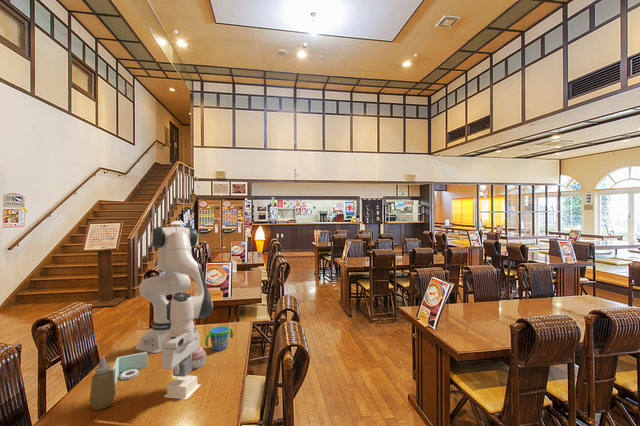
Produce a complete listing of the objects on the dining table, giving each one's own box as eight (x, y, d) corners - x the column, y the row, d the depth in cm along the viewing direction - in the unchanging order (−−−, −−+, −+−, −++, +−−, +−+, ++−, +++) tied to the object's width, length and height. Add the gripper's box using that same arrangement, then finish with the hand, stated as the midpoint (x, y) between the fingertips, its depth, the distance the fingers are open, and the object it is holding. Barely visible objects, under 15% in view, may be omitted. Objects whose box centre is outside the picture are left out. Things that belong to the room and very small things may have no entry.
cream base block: (167, 395, 118) (167, 385, 118) (179, 384, 126) (179, 374, 126) (185, 397, 116) (185, 386, 116) (197, 385, 124) (197, 376, 124)
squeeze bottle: (98, 399, 117) (98, 353, 117) (120, 398, 118) (120, 352, 118) (84, 413, 109) (83, 363, 109) (107, 411, 109) (107, 362, 110)
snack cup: (228, 341, 171) (228, 323, 171) (237, 346, 163) (237, 328, 163) (201, 349, 160) (201, 330, 160) (209, 356, 152) (209, 336, 152)
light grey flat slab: (148, 400, 116) (148, 398, 116) (171, 380, 130) (171, 379, 130) (190, 404, 113) (190, 402, 113) (210, 384, 127) (210, 382, 127)
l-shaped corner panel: (112, 387, 127) (112, 369, 127) (117, 373, 137) (117, 357, 137) (145, 379, 132) (145, 362, 132) (147, 367, 143) (147, 351, 143)
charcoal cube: (173, 376, 119) (173, 363, 119) (180, 369, 124) (180, 357, 124) (184, 376, 118) (184, 364, 118) (192, 370, 123) (191, 358, 123)
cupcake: (196, 373, 136) (196, 351, 136) (181, 369, 139) (181, 347, 140) (211, 364, 144) (211, 343, 144) (197, 360, 148) (197, 340, 148)
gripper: (190, 325, 132) (190, 356, 132) (158, 345, 112) (158, 382, 112) (203, 325, 131) (203, 357, 131) (173, 345, 111) (173, 383, 111)
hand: (182, 369), depth 121 cm, fingers closed on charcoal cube, 5 cm apart
